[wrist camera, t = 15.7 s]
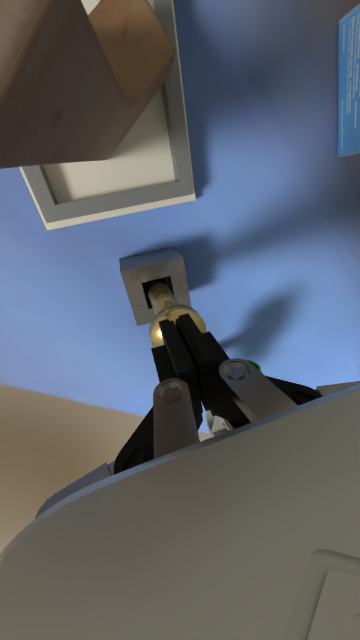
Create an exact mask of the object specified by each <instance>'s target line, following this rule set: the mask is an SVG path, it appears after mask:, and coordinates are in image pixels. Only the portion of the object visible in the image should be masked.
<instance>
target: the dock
mask: <svg viewBox="0 0 360 640" xmlns="http://www.w3.org/2000/svg"><path fill="white" fill-rule="evenodd" d="M81 1H82V3H83V6H84V8H85V10H86V12H87V14H88V15H89V14H90V12H91V11H92V10H93V9H94V8H95V7H96V5H97V4H98V3H99V1H100V0H81ZM148 2H149V4H150V5H151V7H152V9H153V10H154V12H155V14H156V15H157V17H158V19H159V20H160V22H161V24H162V26H163V27H164V29H165V31H166V32H167V34H168V36H169V37H170V39H171V41H172V43H173V44H174V47H175V54H174V59H173V63H172V68H171V72H170V75H169V77H168V78H167V79H166V81H165V82H164V83H163V85H162V86H161V88H160V89H159V90H158V92H157V93H156V94H155V96H154V97H153V98H152V100H151V101H150V102H149V104H148V105H147V107H146V108H145V109H144V111H143V112H142V113H141V115H140V116H139V117H138V119H137V120H136V121H135V123H134V124H133V125H132V127H131V128H130V130H129V131H128V132H127V134H126V135H125V136H124V138H123V139H122V140H121V142H120V143H119V144H118V146H117V147H116V148H115V150H114V151H113V153H112V154H111V155H110V157H109V158H108V159H107V160H103V161H85V162H72V163H59V164H47V165H36V166H24V167H19V168H20V171H21V173H22V175H23V177H24V180H25V182H26V184H27V186H28V189H29V191H30V193H31V195H32V197H33V200H34V202H35V204H36V206H37V209H38V211H39V213H40V215H41V218H42V220H43V222H44V224H45V227H46V229H47V230H51V229H56V228H61V227H66V226H71V225H76V224H81V223H86V222H90V221H95V220H100V219H105V218H110V217H115V216H120V215H125V214H130V213H135V212H140V211H145V210H150V209H154V208H159V207H164V206H169V205H174V204H179V203H184V202H189V201H194V200H196V198H195V189H194V180H193V171H192V162H191V153H190V144H189V136H188V127H187V118H186V109H185V100H184V91H183V83H182V74H181V65H180V56H179V47H178V38H177V29H176V21H175V12H174V3H173V0H148Z"/></svg>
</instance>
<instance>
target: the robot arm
mask: <svg viewBox="0 0 360 640" xmlns="http://www.w3.org/2000/svg"><path fill="white" fill-rule="evenodd" d="M178 317H179V319H176V325H177V328H176V326H175V324H174V322H173V320H172V321H169V319H165V320H162V321H158V322H159V326H160V330H161V334H162V338H163V342H164V345H161V346H158V347H155V348H151V349H152V353H153V357H154V361H155V365H156V369H157V373H158V377H159V381H160V383H159V384H158V385H157V386H156V388H155V390H154V394H153V407H152V408H151V410H150V411H149V412H148V414H147V415H146V417H145V418H144V419H143V421H142V422H141V424H140V425H139V426H138V428H137V429H136V430H135V432H134V433H133V434H132V436H131V437H130V439H129V440H128V442H127V443H126V444H125V445H124V447H123V448H122V449H121V451H120V452H119V454H118V456H117V457H116V460H115V461H113V462H112V463H110V464H107V463H105V464H103V465H101V466H100V467H98V468H96V469H95V470H93V471H92V472H90V473H88V474H86V475H85V476H83V477H82V478H80V479H78V480H77V481H75V482H73V483H72V484H70V485H68V486H67V487H65V488H63V489H62V490H60V491H59V492H57V493H55V494H54V495H53V496H51V497H50V498H49V499H47V500H46V501H45V503H44V504H43V505H42V506H41V508H40V509H39V511H38V513H37V515H36V517H35V519H34V521H32V522H31V523H30V524H28V525H27V526H26V527H25V528H24V529H23V530H22V531H21V532H20V533H19V534H18V535H16V537H14V538H13V540H12V541H11V542H10V543H9V544H8V545H7V546H6V547H5V548H4V549H3V551H2V552H1V553H0V640H360V381H357V382H349V383H341V384H333V385H325V386H317V387H316V389H315V390H314V389H312V388H310V387H307V386H303V385H299V384H295V383H292V382H288V381H284V380H280V379H276V378H272V377H268V376H264V375H263V374H262V373H261V372H259V371H258V370H257V369H256V368H255V367H254V366H253V365H251V364H250V363H249V362H247V361H246V360H243V359H237V358H235V359H229V357H228V356H227V354H226V353H225V352H224V350H223V349H222V348H221V346H220V345H219V344H218V342H217V341H216V339H215V338H214V337H213V335H212V334H211V333H210V332H205V333H201V331H200V330H199V328H198V327H197V325H196V324H195V322H194V321H193V319H192V318H191V316H190V315H189V313H187V314H183V315H180V316H178ZM201 401H202V403H203V406H204V408H205V410H206V411H208V410H210V412H211V414H212V416H218V417H221V418H223V419H224V422H225V424H226V426H227V427H228V428H229V430H230V431H228V432H225V433H223V434H220V435H217V436H215V437H212V438H209V439H206V440H204V441H202V442H200V440H199V435H198V429H199V427H200V425H201V423H202V421H203V418H202V413H203V409H202V403H201Z"/></svg>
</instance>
